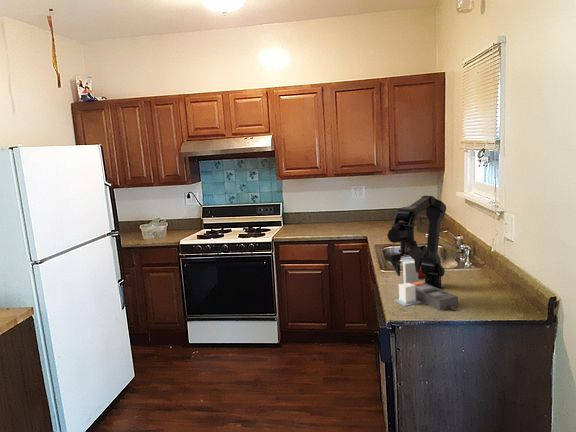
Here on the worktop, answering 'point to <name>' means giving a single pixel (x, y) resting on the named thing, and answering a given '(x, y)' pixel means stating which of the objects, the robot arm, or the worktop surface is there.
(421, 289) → the gray recessed block
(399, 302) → the mat
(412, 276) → the skincare box
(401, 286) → the block
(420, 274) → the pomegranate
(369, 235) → the worktop surface
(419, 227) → the clothes iron
